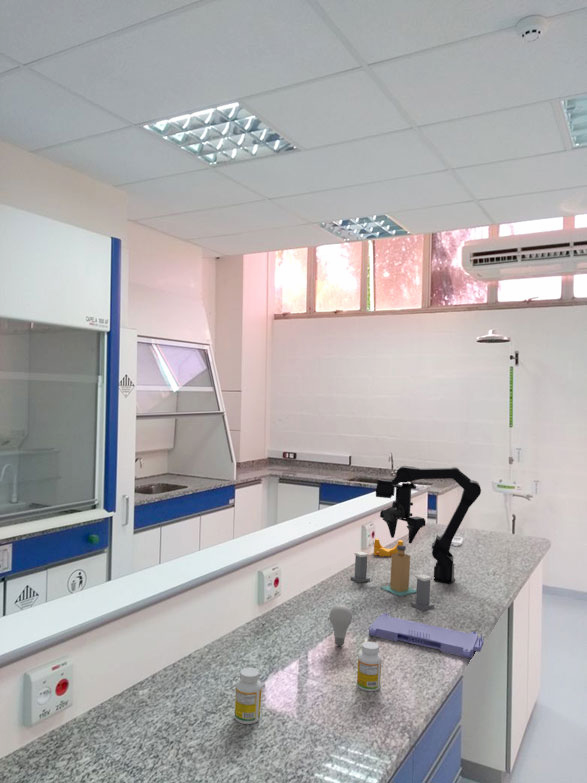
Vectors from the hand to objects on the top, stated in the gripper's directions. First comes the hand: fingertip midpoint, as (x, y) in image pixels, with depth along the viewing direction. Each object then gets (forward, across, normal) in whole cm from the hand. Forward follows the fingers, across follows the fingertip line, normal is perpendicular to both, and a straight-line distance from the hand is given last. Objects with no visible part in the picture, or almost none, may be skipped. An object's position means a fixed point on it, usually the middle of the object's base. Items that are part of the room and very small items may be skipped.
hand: (401, 540), depth 227 cm
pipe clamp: (+13, -21, +15) cm, 29 cm away
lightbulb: (+13, +37, -61) cm, 73 cm away
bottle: (+13, +13, -13) cm, 22 cm away
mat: (+13, +13, -13) cm, 23 cm away
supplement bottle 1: (+13, +55, -100) cm, 115 cm away
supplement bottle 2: (+13, +58, -69) cm, 91 cm away
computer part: (+14, +46, -37) cm, 61 cm away
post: (+13, +28, -18) cm, 36 cm away
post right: (+13, -2, -18) cm, 22 cm away
